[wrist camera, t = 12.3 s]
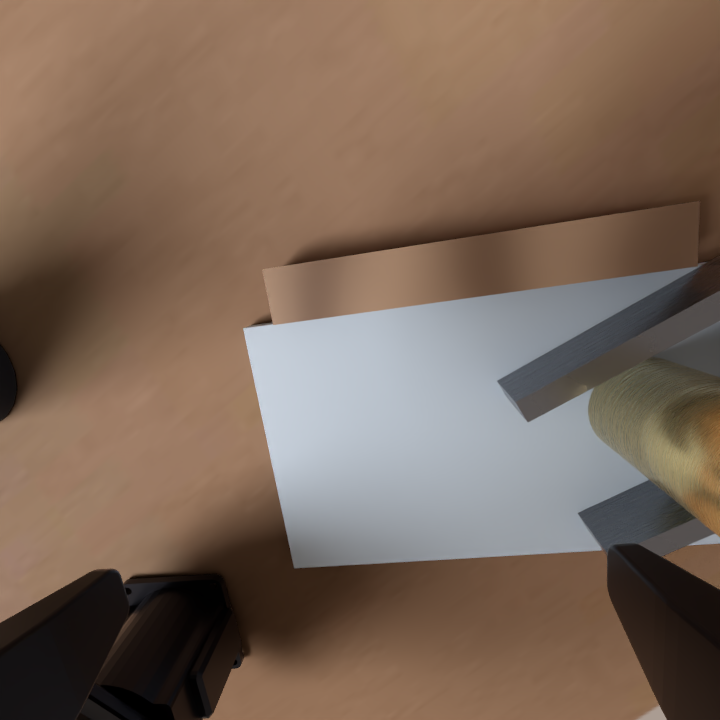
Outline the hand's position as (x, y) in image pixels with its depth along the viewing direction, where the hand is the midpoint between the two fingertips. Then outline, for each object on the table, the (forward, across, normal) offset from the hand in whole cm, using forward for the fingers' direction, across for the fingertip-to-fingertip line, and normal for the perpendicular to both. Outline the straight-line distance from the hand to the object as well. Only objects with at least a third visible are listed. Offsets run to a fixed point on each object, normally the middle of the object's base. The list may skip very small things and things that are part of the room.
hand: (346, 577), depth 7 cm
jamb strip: (+13, -4, -5) cm, 15 cm away
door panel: (+13, -6, +3) cm, 15 cm away
